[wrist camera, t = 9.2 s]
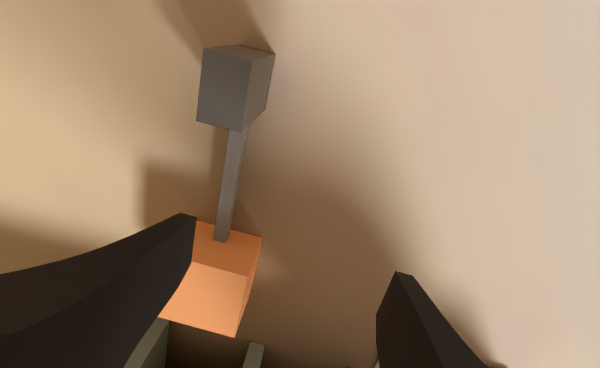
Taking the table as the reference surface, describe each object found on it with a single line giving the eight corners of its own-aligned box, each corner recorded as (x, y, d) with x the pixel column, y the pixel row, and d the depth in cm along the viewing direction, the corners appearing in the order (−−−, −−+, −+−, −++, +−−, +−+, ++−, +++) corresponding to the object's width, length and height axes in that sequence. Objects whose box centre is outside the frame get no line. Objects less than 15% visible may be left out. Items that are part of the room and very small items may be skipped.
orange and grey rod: (302, 61, 18) (289, 71, 13) (250, 293, 25) (229, 351, 20) (211, 37, 18) (167, 39, 14) (184, 275, 25) (149, 329, 20)
